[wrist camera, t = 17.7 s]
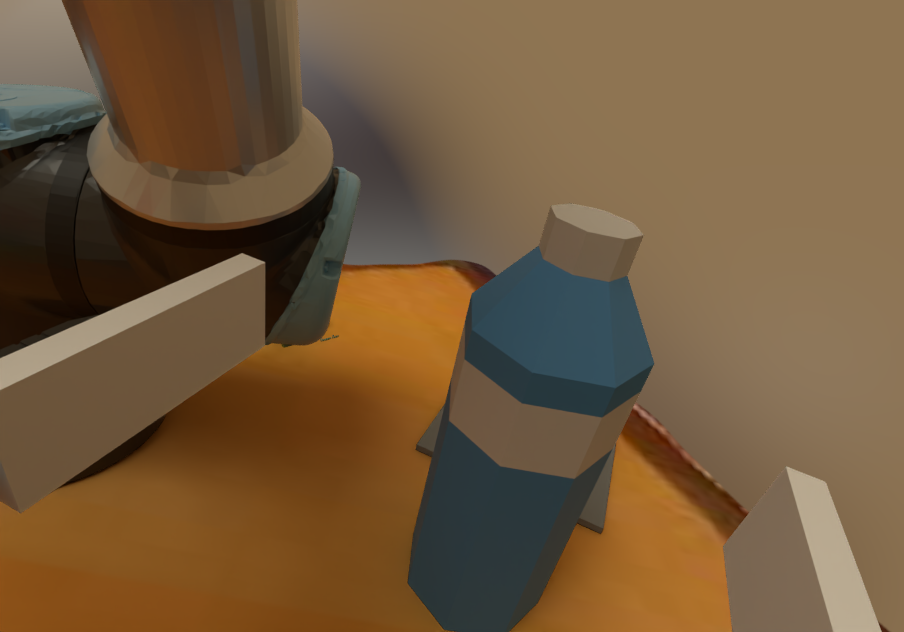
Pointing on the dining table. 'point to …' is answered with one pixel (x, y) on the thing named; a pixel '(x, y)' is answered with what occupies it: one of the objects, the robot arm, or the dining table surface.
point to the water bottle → (529, 420)
